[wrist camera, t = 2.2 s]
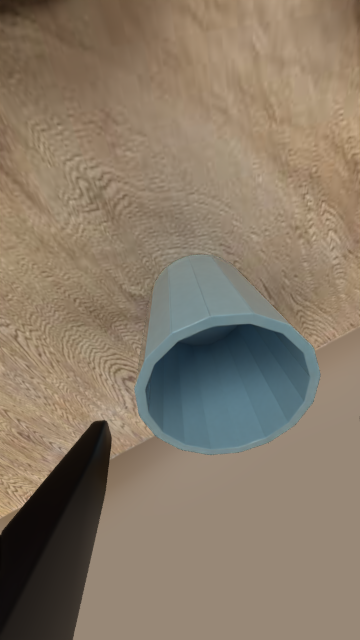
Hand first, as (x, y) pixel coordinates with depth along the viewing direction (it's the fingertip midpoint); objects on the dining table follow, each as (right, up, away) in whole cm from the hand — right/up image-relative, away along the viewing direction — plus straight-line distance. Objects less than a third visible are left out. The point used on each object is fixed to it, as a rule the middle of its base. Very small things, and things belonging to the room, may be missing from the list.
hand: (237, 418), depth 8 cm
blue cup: (-1, +5, +9) cm, 10 cm away
